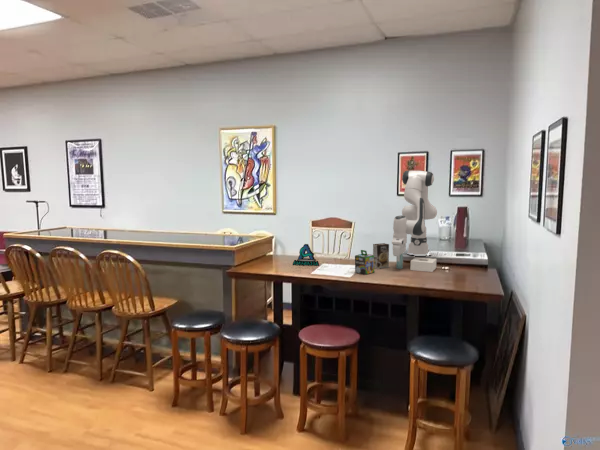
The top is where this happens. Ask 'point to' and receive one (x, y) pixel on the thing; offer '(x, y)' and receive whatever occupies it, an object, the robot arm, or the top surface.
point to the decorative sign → (306, 261)
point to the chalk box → (364, 263)
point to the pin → (400, 262)
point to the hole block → (423, 264)
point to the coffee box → (381, 255)
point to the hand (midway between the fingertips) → (399, 260)
